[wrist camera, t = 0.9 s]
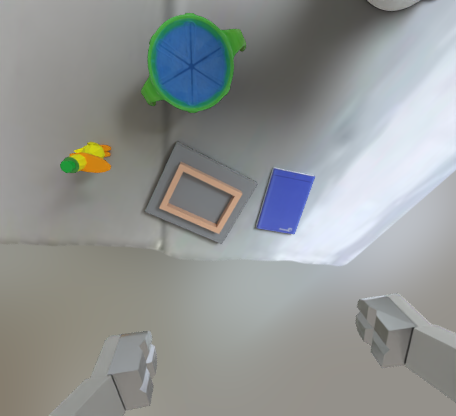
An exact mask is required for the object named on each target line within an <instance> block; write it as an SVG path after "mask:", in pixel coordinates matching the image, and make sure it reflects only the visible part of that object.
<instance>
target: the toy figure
mask: <svg viewBox="0 0 456 416" xmlns="http://www.w3.org/2000/svg"><path fill="white" fill-rule="evenodd" d="M87 144H88V145H86V146H84V147H83V148H80V149H77V150H74V152H76V153H72V154H70V157H67V158H65V159H64V160H63V161H62V162H61V164H60V167H61V169H62V170H63V171H64V172H66V173H69V172H70V173H76V172H78V171H85V172H94V173H100V172H105V171H109V170H110V169H111V165H110V164H109V163H108V162H107V161H106V160H104V159H103V158H104V157H107V156H110V153H109V152H108V151H109V150H111V147H110V146H108V145H99V144H97V143H94V142H89V143H87Z"/></svg>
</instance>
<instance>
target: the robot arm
mask: <svg viewBox="0 0 456 416" xmlns="http://www.w3.org/2000/svg"><path fill="white" fill-rule="evenodd" d="M367 1H368V2H370V3H371V4H372V5H374V6H375V7H377V8H379V9H382V10H387V11H396V10H401V9H405V8H407V7H410V6H412V5H413V4H415V3H417V2H419V1H420V0H367ZM357 308H358V309H359V310H360V312H359V313H358V314H357V315H356V326H357V330H358V332H359V335H360V337H361V338H362V340H363V341H364V342H366V343H367V344H369V345H371V353H372V354H373V356H374V357H375V359H376V360H377V362H378V363H379V365H380V366H381V368H387V367H394V366H402V365H405V366H406V367H407V368H408V369H409V370H411V371H412V372H413V373H415V374H416V375H418V376H419V377H420V378H422V379H423V380H425V381H426V382H428V383H429V384H430V385H432V386H433V387H434V388H436V389H437V390H439V391H440V392H442V393H443V394H444V395H446V396H447V397H448V398H450V399H451V400H453V401H454V402H456V333H454V332H452V331H450V330H447V329H445V328H443V327H441V326H438V325H436V324H435V325H432V324H431V323H430V322H429V321H427V320H426V319H425V318H424V317H423V316H422V315H421V314H420V313H419V312H418V311H417V310H416V309H415V308H414V307H413V306H412V305H411V304H410V303H409V302H408V301H407V300H406V299H405V298H404V297H403V296H402V295H400V294H398V293H396V294H389V295H384V296H377V297H371V298H364V299H360V300H359V301H358V304H357ZM151 342H152V335H151V332H150V331H143V332H136V333H127V334H121V335H113V336H108V337H107V339H106V340H105V342H104V345H103V347H102V350H101V352H100V355H99V357H98V359H97V362H96V364H95V367H94V369H93V372H92V374H91V377H90V378H88V379H85V380H84V381H83V382H82V383H81V384H80V385H79V386H78V387H77V388H76V389H75V390H74V391H73V392H72V393H71V394H70V395H69V396H68V397H67V398H66V399H65V400H64V401H63V402H62V403H61V404H60V405H59V406H58V407H57V408H56V409H55V410H54V411H53V412H52V413H51V414H50V415H49V416H123V415H124V414H125V411H126V410H131V409H136V408H141V407H146V406H150V404H151V398H152V392H153V383H152V380H151V379H152V378H153V376H154V375H155V374H156V368H157V354H156V349H155V346H153V345H152V344H151Z"/></svg>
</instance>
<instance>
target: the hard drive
mask: <svg viewBox="0 0 456 416" xmlns="http://www.w3.org/2000/svg"><path fill="white" fill-rule="evenodd" d="M314 179H315V176H314V175H309V174H304V173H299V172H294V171H289V170H284V169H279V168H274V167H273V169H272V173H271V176H270V180H269V183H268V186H267V190H266V193H265V197H264V200H263V203H262V207H261V210H260V214H259V217H258V221H257V224H256V227H257V228H258V229H264V230H270V231H277V232H283V233H289V234H295V232H296V229H297V226H298V223H299V220H300V218H301V215H302V212H303V209H304V206H305V204H306V201H307V198H308V195H309V192H310V190H311V187H312V184H313V181H314Z"/></svg>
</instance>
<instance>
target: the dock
mask: <svg viewBox="0 0 456 416" xmlns="http://www.w3.org/2000/svg"><path fill="white" fill-rule="evenodd" d="M256 186H257V182H256V181H254V180H252V179H250V178H248V177H246V176H244V175H242V174H240V173H238V172H236V171H234V170H232V169H230V168H228V167H226V166H224V165H222V164H220V163H218V162H216V161H214V160H212V159H211V158H209V157H207V156H205V155H203V154H201V153H199V152H197V151H195V150H193V149H191V148H189V147H187V146H185V145H183V144H181V143H179V142H176V145H175V147H174V149H173V151H172V153H171V155H170V158H169V160H168V162H167V164H166V166H165V169H164V171H163V173H162V175H161V177H160V179H159V182H158V184H157V186H156V188H155V190H154V193H153V195H152V197H151V199H150V201H149V204H148V206H147V208H146V210H145V212H147V213H149V214H151V215H154V216H156V217H159V218H161V219H163V220H166V221H168V222H170V223H173V224H175V225H178V226H180V227H182V228H185V229H187V230H189V231H192V232H194V233H197V234H199V235H201V236H204V237H206V238H208V239H211V240H213V241H215V242H218V243H220V244H222V243H223V241H224V240H225V238H226V236H227V235H228V233H229V231H230V230H231V228H232V226H233V225H234V223H235V221H236V220H237V218H238V216H239V215H240V213H241V211H242V210H243V208H244V206H245V205H246V203H247V201H248V199H249V198H250V196H251V194H252V193H253V191H254V189H255V188H256Z"/></svg>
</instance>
